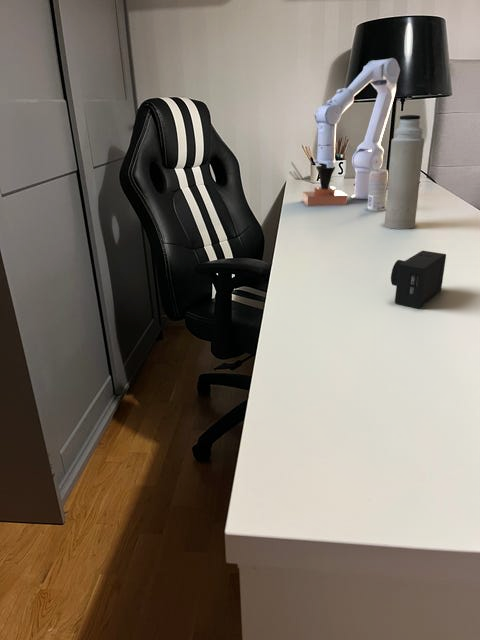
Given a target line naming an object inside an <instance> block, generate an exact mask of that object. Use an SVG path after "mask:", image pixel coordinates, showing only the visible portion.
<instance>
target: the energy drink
mask: <svg viewBox="0 0 480 640" xmlns="http://www.w3.org/2000/svg"><path fill="white" fill-rule="evenodd" d="M388 177H389V169H383V168H382V169H381V168H380V169H375V170H371V172H370V180H369V194H368V199H367V207H366V208H367V210H368V211H370V212H382V211H384V210H386V201H387V191H388Z"/></svg>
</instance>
